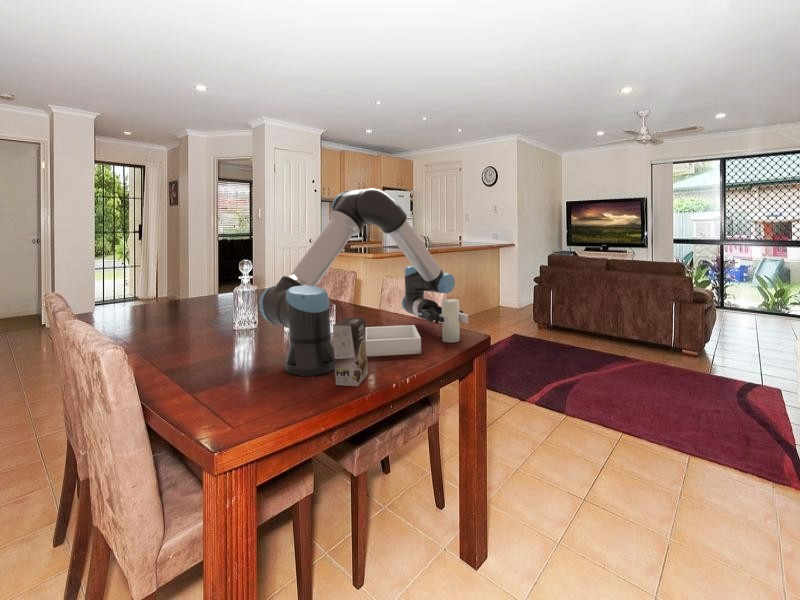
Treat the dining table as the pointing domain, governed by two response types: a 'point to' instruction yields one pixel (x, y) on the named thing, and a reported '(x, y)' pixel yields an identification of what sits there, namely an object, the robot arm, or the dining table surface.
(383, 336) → the tote
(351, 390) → the dining table surface
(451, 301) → the canister
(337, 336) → the coffee box
